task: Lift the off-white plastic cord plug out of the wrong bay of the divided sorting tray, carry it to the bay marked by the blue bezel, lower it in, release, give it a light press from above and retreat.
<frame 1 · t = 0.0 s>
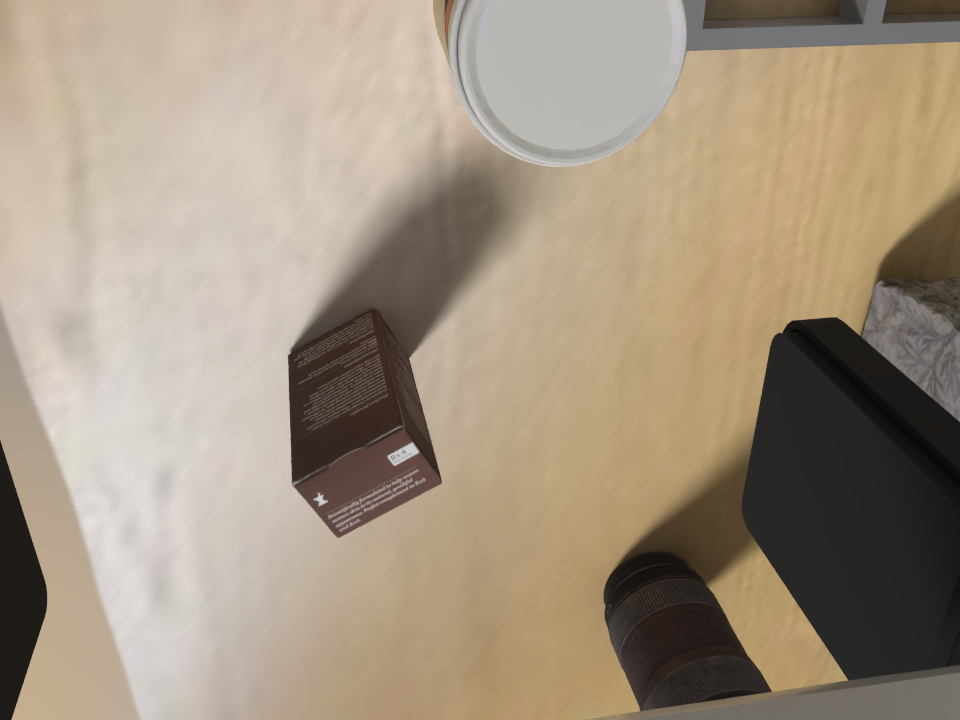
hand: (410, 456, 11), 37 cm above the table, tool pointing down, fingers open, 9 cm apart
decorative rock: (887, 364, 59), on the table
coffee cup: (509, 3, 44), on the table
camera lens: (647, 583, 65), on the table
box: (351, 356, 52), on the table
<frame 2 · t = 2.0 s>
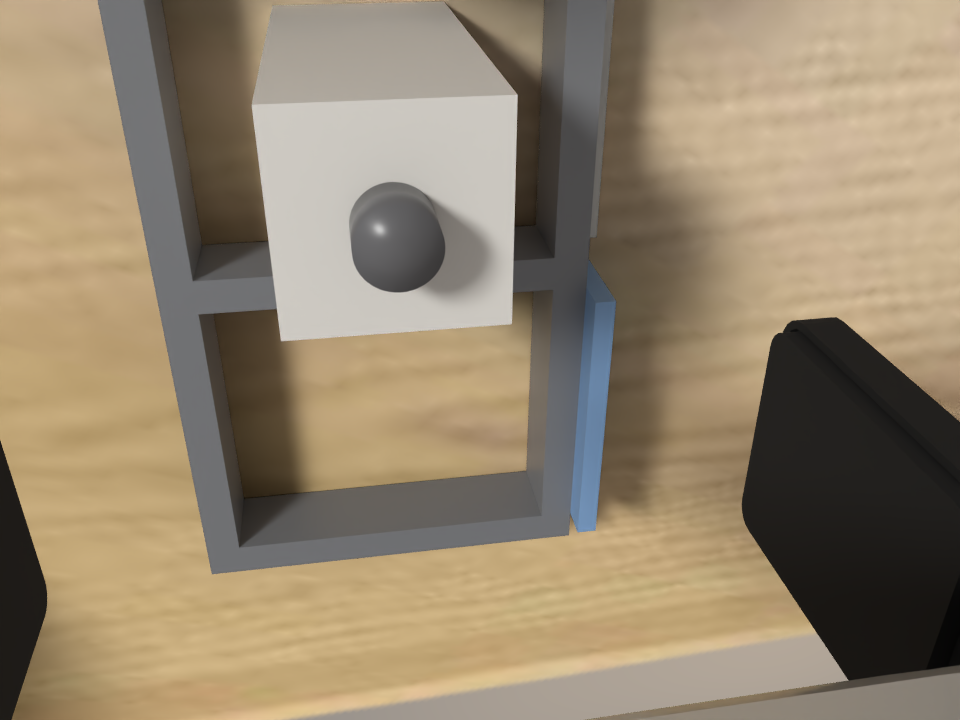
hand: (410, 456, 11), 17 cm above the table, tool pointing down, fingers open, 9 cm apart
divided sorting tray: (374, 250, 27), on the table
plug: (364, 89, 25), resting in divided sorting tray
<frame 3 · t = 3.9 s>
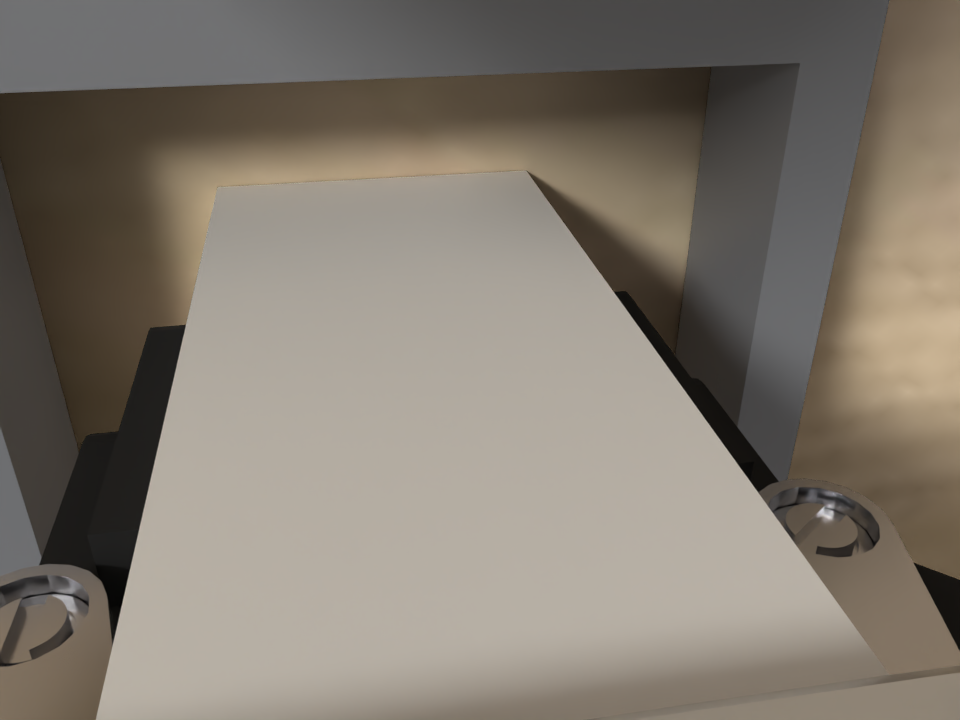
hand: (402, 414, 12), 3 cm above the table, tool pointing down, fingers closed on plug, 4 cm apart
divided sorting tray: (396, 547, 17), on the table
plug: (383, 315, 14), resting in divided sorting tray, touching gripper
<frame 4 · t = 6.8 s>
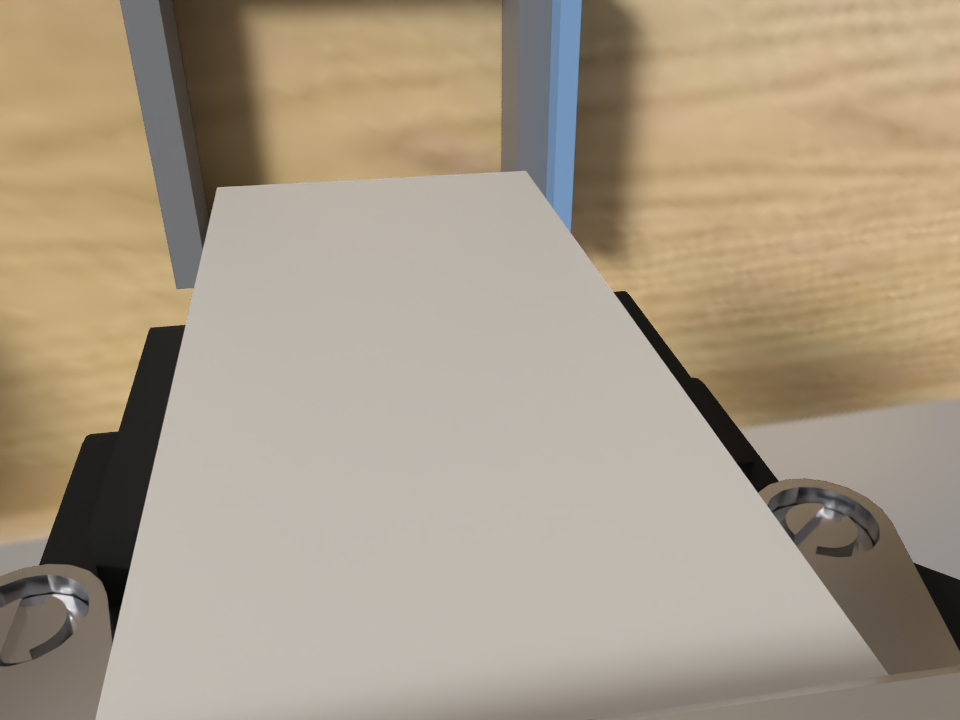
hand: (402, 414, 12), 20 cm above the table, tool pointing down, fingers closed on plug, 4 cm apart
plug: (383, 316, 14), point 17 cm above the table, touching gripper
when the fingers open (4 cm above the table, at t = 10.1 s): plug drops 1 cm, resting in divided sorting tray.
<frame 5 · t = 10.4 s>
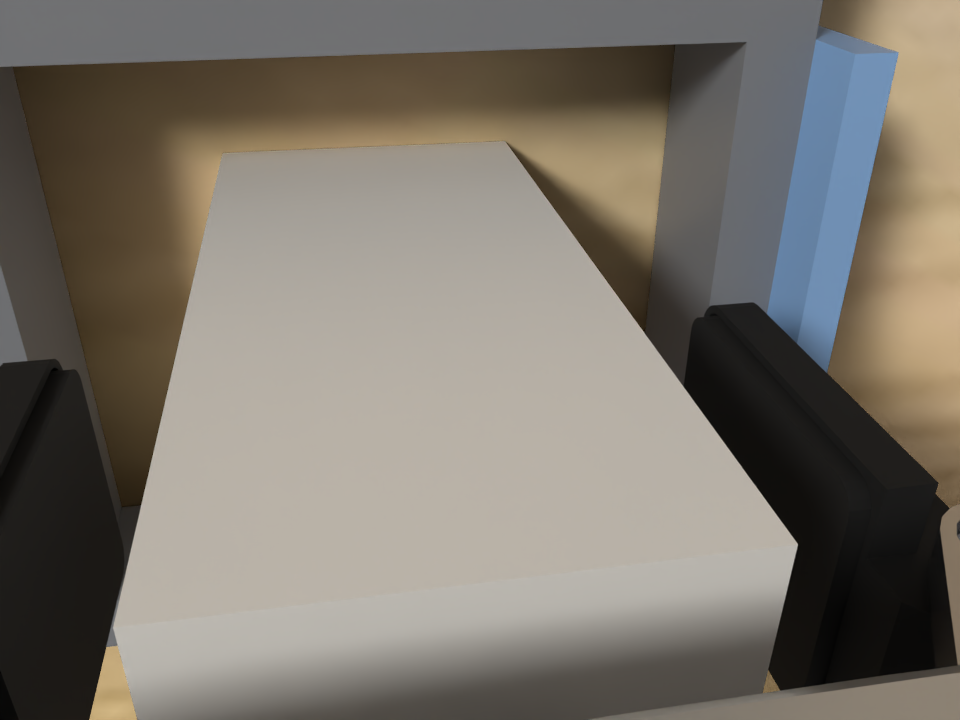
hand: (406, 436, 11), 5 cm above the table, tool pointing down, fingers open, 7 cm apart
plug: (374, 275, 15), resting in divided sorting tray
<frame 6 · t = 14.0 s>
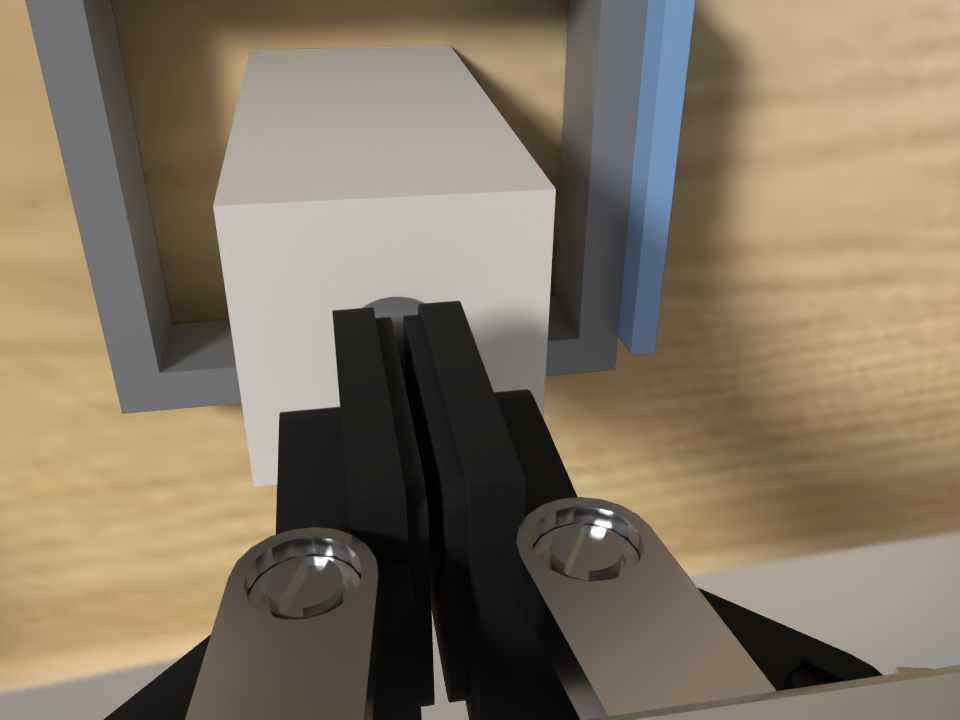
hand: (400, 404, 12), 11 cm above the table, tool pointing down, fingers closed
plug: (357, 145, 21), resting in divided sorting tray, touching gripper
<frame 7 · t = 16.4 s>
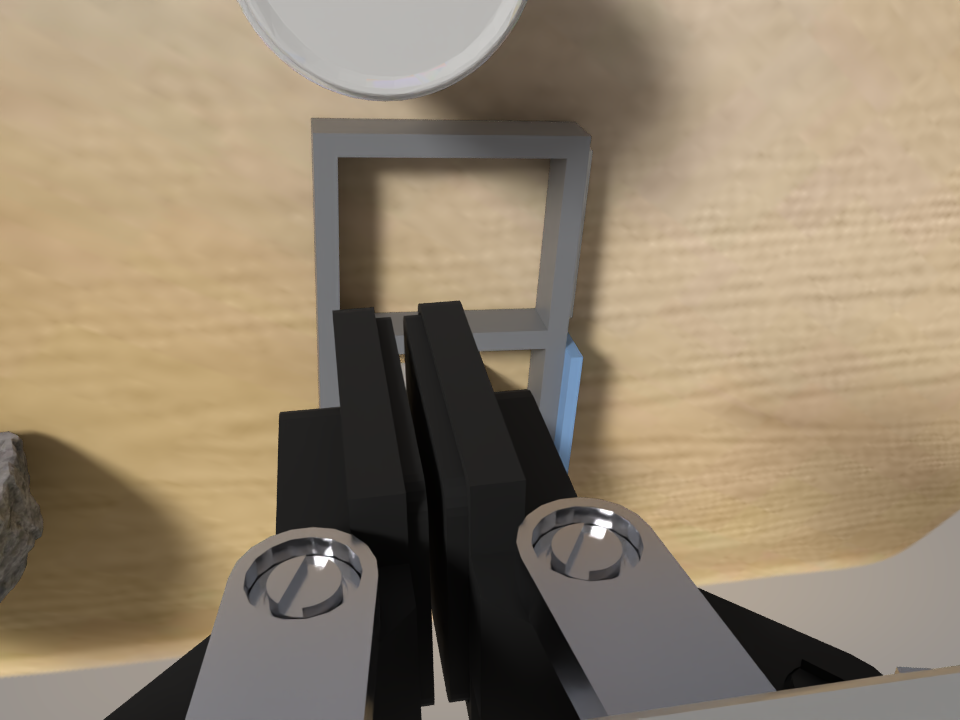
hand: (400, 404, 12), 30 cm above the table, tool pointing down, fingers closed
divided sorting tray: (438, 320, 45), on the table
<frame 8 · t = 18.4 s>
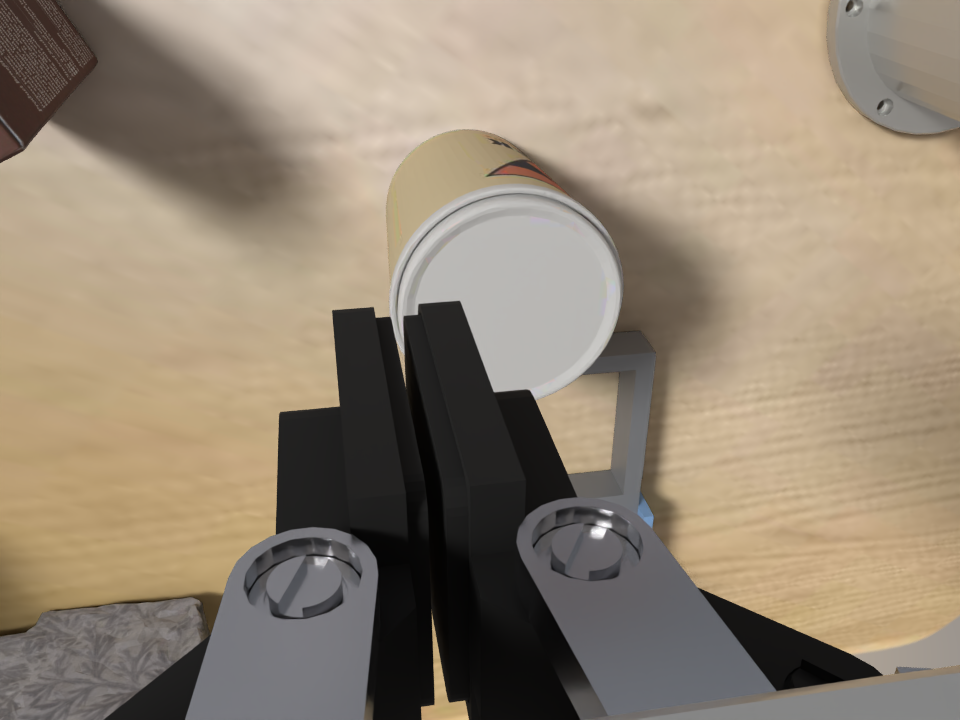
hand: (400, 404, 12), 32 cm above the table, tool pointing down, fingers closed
divided sorting tray: (530, 485, 54), on the table
decorative rock: (90, 636, 54), on the table
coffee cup: (462, 203, 45), on the table
box: (12, 25, 38), on the table
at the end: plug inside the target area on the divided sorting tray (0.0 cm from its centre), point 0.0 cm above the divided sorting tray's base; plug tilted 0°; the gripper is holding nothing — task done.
